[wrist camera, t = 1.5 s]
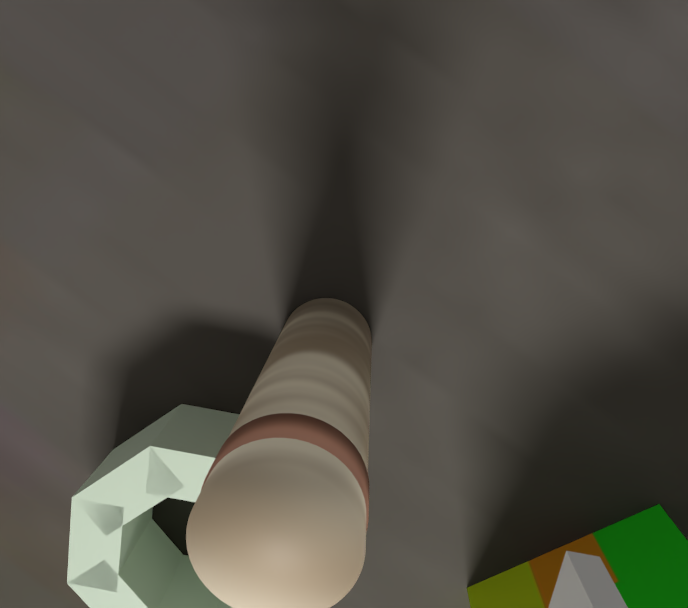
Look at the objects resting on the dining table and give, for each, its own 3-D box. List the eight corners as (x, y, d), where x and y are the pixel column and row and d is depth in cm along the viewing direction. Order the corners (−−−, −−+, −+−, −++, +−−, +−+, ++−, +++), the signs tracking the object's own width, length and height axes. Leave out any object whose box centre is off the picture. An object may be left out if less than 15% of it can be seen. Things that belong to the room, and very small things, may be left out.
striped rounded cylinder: (288, 289, 26) (193, 446, 13) (380, 306, 26) (384, 481, 13) (275, 375, 27) (175, 603, 14) (363, 391, 27) (350, 636, 14)
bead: (117, 391, 28) (75, 432, 24) (337, 432, 28) (330, 479, 24) (103, 576, 31) (63, 639, 27) (302, 613, 31) (292, 681, 27)
